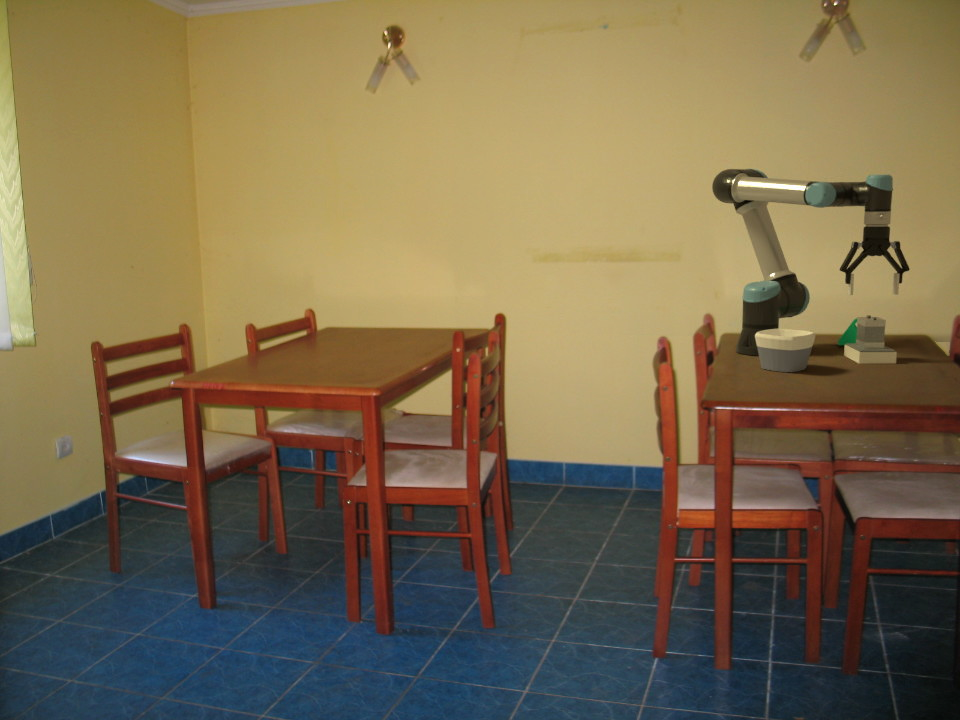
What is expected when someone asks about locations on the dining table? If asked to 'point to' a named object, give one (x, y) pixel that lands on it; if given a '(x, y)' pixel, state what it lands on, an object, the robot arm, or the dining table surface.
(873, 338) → the housing
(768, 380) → the dining table surface
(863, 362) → the plinth
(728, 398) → the dining table surface
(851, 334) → the camera mount
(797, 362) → the bowl
